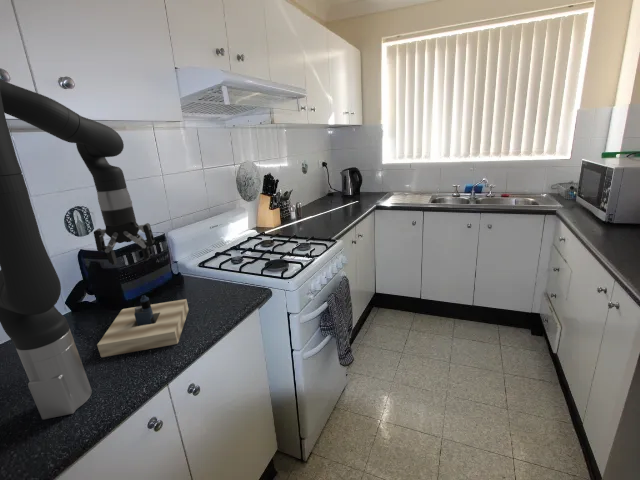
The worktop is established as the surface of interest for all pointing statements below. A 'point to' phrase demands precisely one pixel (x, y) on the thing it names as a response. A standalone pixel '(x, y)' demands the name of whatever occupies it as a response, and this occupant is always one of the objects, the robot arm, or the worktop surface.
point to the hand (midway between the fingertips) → (131, 261)
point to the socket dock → (144, 329)
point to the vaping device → (144, 312)
